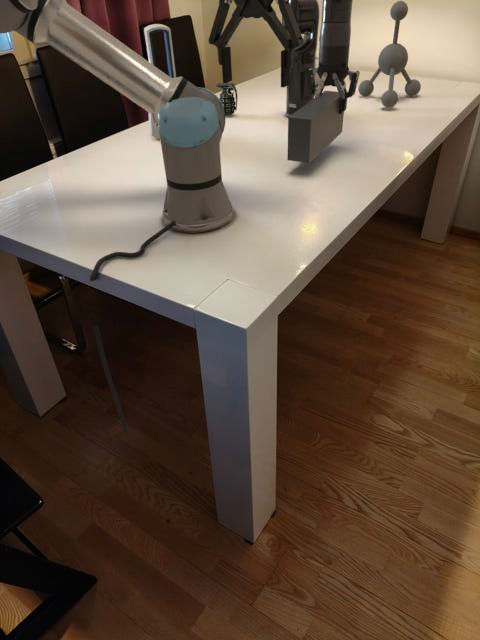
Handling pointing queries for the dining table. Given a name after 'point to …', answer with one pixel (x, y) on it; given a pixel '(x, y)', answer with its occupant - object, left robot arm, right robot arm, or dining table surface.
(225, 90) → the grenade
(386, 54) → the molecular model
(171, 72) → the electronic device
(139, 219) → the dining table surface
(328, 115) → the box
